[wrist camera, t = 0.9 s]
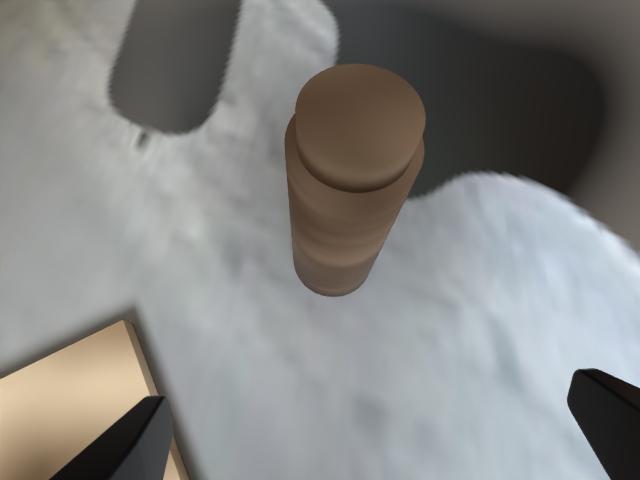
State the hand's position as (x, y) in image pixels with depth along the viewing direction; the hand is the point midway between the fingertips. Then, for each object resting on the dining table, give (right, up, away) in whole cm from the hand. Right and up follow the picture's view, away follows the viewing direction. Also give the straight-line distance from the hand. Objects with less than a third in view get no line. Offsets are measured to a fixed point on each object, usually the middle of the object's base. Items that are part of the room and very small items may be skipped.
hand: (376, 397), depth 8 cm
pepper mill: (0, +2, +15) cm, 15 cm away
